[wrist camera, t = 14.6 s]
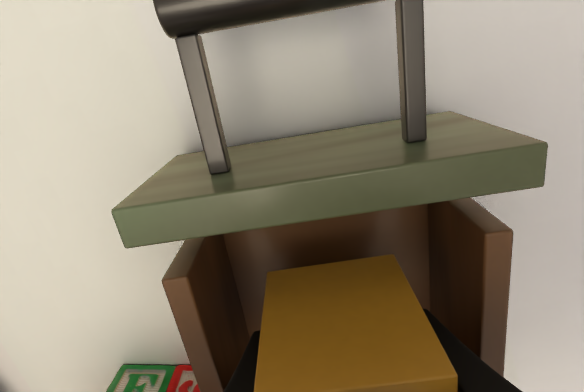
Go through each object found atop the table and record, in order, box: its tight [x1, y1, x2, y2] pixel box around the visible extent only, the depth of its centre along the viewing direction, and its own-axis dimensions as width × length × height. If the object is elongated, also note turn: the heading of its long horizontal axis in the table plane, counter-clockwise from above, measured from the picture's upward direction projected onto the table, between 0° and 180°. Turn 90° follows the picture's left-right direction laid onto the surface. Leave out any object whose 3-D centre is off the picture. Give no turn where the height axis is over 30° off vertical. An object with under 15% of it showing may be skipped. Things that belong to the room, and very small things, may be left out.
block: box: [254, 254, 458, 392], centre depth 11 cm, size 4×4×5 cm
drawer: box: [112, 0, 548, 392], centre depth 13 cm, size 19×11×6 cm, turn 9°
